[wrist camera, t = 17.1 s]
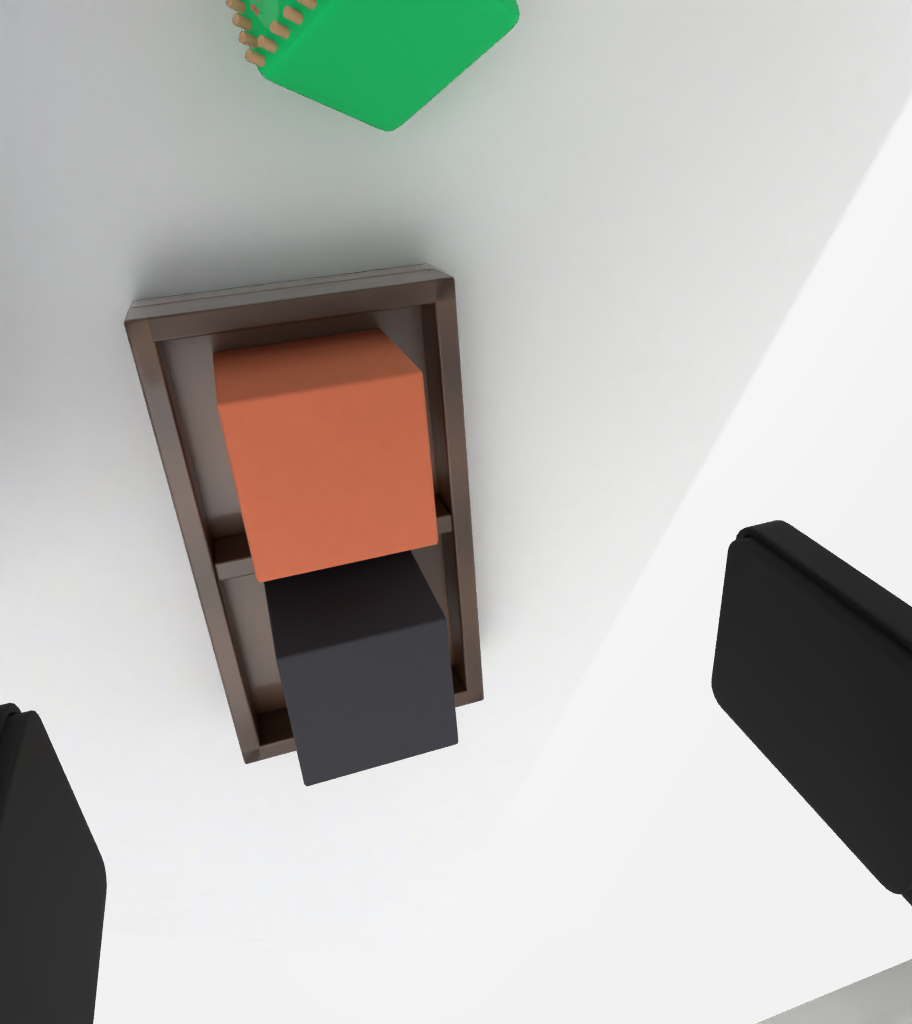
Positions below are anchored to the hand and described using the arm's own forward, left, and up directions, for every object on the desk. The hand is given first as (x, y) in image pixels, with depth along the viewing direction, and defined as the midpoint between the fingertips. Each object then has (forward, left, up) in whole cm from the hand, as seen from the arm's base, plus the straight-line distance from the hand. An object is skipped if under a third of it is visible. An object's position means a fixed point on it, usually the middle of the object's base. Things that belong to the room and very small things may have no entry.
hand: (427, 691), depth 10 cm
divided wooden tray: (+4, 0, -14) cm, 14 cm away
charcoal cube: (+7, 0, -13) cm, 15 cm away
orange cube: (0, 0, -13) cm, 13 cm away
